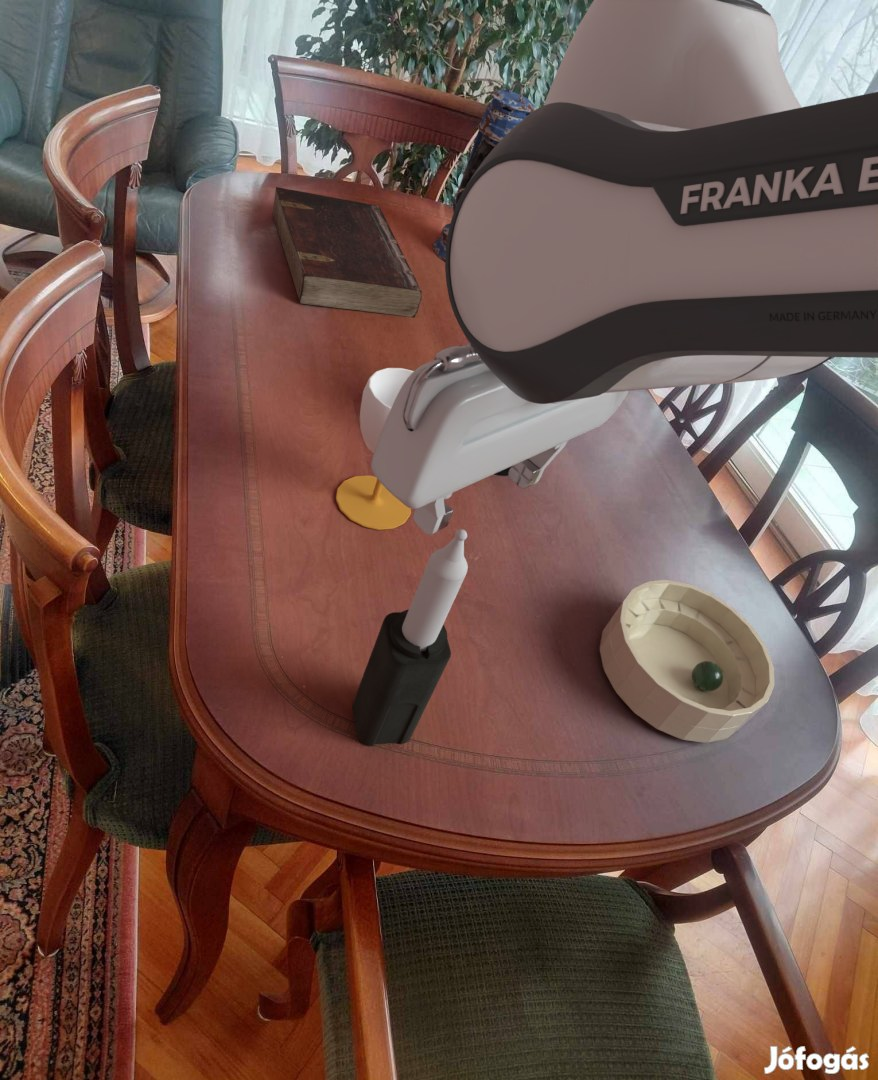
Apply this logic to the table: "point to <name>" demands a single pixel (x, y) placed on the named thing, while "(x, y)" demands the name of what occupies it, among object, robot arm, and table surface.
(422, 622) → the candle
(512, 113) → the lantern
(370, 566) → the table surface
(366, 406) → the cup
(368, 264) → the hardback book
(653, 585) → the bowl
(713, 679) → the bead
